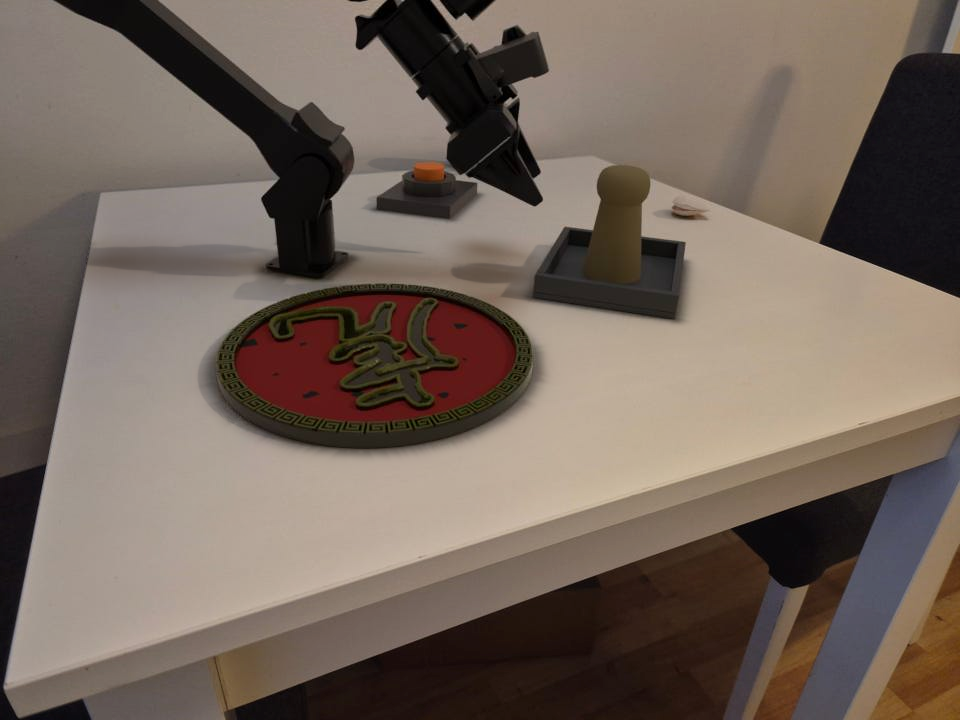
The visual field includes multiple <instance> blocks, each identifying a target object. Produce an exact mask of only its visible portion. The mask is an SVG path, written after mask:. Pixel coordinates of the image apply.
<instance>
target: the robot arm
mask: <svg viewBox="0 0 960 720" xmlns="http://www.w3.org/2000/svg"><path fill="white" fill-rule="evenodd" d="M52 1H53V2H55V3H57V4H59V5H60V6H62V7H63V8H65V9H66V10H69V11H70V12H72V13H73V14H76V15H78V16H81V17H83V18H86V19H88V20H90V21H92V22H95V23H97V24H99V25H102V26H104V27H107V28H109V29H111V30H113V31H115V32H117V33H118V34H120V35H122V36H123V37H124V38H125V39H126V40H128V41H129V42H130V43H131V44H132V45H134V46H135V47H136V48H138V49H139V50H140V51H141V52H143V53H144V54H145V55H146V56H147V57H149V58H150V59H151V60H152V61H154V62H155V63H156V64H158V65H159V66H160V67H161V68H163V70H165V71H166V72H168V73H169V74H170V75H171V76H172V77H174V78H175V79H176V80H177V81H179V82H180V83H181V84H183V85H184V87H186V88H188V89H189V90H190V91H191V92H193V93H194V94H195V95H196V96H197V97H199V98H200V99H201V100H202V101H204V102H205V103H206V104H207V105H209V106H210V107H211V108H212V109H214V110H215V111H216V112H217V113H218V114H220V115H221V116H222V117H224V118H225V119H226V120H227V121H229V122H230V123H231V124H232V125H233V126H235V127H236V128H237V129H239V130H240V131H242V133H244V134H245V135H246V136H247V137H248V138H250V140H251V141H252V142H253V143H254V145H255V147H256V148H257V149H258V152H259V153H260V155H261V156H262V158H263V159H264V161H265V163H266V164H267V166H268V167H269V169H270V171H272V172H273V173H274V174H275V175H276V176H277V178H278V180H277V181H275V183H273V185H272V186H271V187H270V188H269V189H268V190H266V192H264V194H263V195H262V196H261V197H260V202H261V204H262V205H263V208H264V210H265V212H266V214H267V215H268V218H270V219H273V220H274V222H273V223H274V230H275V241H276V250H277V256H276V257H274V258H273V259H272V260H270V261H268V262H267V263H266V264H265V267H266V270H268V271H274V272H281V273H285V274H286V273H287V274H293V275H299V276H304V277H305V276H306V277H312V278H324V277H325V276H327V275H328V274H329V273H331V272H332V271H333V270H335V269H336V268H337V267H338V266H340V265H341V264H343V263H344V262H345V261H346V260H347V259H349V252H348V251H347V252H346V251H339V250H336V235H335V221H334V210H333V200H332V198H333V197H335V195H336V194H337V193H338V192H339V191H340V190H341V188H342V187H343V185H344V184H345V183H346V181H347V180H348V178H350V176H351V174H352V171H353V170H354V167H355V154H354V153H355V152H354V147H353V145H352V144H351V141H349V139H348V138H347V137H346V136H345V135H344V134H342V133H344V132H345V130H346V128H345V126H342V125H339V124H337V123H335V122H334V121H332V120H331V119H329V118H328V117H327V116H326V114H325V113H324V112H323V110H321V109H320V107H318V105H316V103H314V102H312V101H310V102H308V103H307V104H306V105H304V106H303V107H301V108H300V109H299V110H298V109H296V108H294V107H291V106H289V105H287V104H284V103H283V102H281V101H280V100H279V99H278V98H276V97H275V96H274V95H273V94H271V93H270V92H269V91H268V90H267V89H266V88H264V87H263V86H262V85H261V84H259V83H258V81H256V80H254V78H252V77H251V76H249V74H247V72H245V71H244V70H242V69H241V68H240V67H239V66H237V64H235V62H233V61H232V60H231V59H229V57H227V55H224V54H223V52H221V51H220V50H219V49H217V48H216V47H215V46H214V45H213V44H211V43H210V42H209V41H208V40H207V39H205V38H204V37H203V36H202V35H201V34H199V33H198V32H197V31H196V30H194V29H193V28H192V26H190V25H189V24H187V23H186V22H185V21H184V20H182V19H181V18H180V17H179V16H178V15H176V14H175V13H174V12H173V11H172V10H170V9H169V8H168V7H167V6H166V5H164V3H162V2H161V1H159V0H52ZM347 1H348V2H353V3H363V2H367V1H369V0H347ZM496 1H497V0H439V2H440V3H441V4H442V6H443V7H444V9H445V10H446V11H447V12H448V13H449V14H450V16H452V18H453V19H454V20H455V21H457V20H459V19H460V18H462V16H464V15H465V14H466V16H467V17H468V18H469V19H470V20H471V21H473V22H474V21H475V20H476V19H477V18H479V17H480V16H481V15H482V14H483V13H484V12H485V11H486V10H487V9H489V8H490V7H491V5H493V4H494V3H495V2H496ZM354 22H355V27H356V38H355V45H354V46H355V48H356V49H357V50H358V51H362V50H364V49H366V48H367V47H368V46H370V45H371V44H372V43H373V42H374V41H375V40H376V39H378V40H379V42H381V44H382V45H383V46H384V47H385V49H386V50H387V51H388V53H390V55H391V56H392V58H393V59H394V60H395V61H396V62H397V63H398V65H399V66H400V67H401V68H402V69H403V71H404V72H405V73H406V74H407V76H408V77H409V78H410V79H411V80H412V82H413V83H414V84H415V85H416V87H417V89H416V90H415V94H416V95H418V97H419V98H420V99H421V100H422V101H425V100H426V99H427V100H428V101H429V102H430V104H431V105H432V107H434V109H435V110H436V111H437V113H438V114H439V116H441V118H442V119H443V120H444V121H445V122H446V125H445V128H444V129H445V130H446V131H447V132H448V133H449V135H450V136H449V138H448V141H447V143H446V157H445V158H446V159H445V160H446V161H447V162H448V163H449V164H450V166H451V167H452V168H453V169H454V170H455V171H456V172H457V174H458V175H459V176H463V175H465V176H466V177H467V178H469V179H471V178H472V179H475V180H477V181H479V182H482V183H484V184H485V185H488V186H491V187H493V188H495V189H497V190H498V191H501V192H503V193H506V194H508V195H509V196H512V197H513V198H516V199H518V200H520V201H522V202H524V203H525V204H528V205H530V206H532V207H537V206H539V205H540V204H541V203H542V202H543V201H544V197H543V195H542V192H541V191H540V189H539V187H538V185H537V183H536V182H535V180H534V179H536V178H537V177H538V176H539V175H541V172H542V170H541V167H540V166H539V164H538V161H537V159H536V157H535V155H534V153H533V151H532V148H531V147H530V145H529V143H528V141H527V138H526V136H525V134H524V132H523V129H522V127H521V125H520V123H519V116H520V108H521V99H520V97H518V93H519V92H518V89H516V87H515V86H514V84H515V83H519V82H521V81H523V80H526V79H530V78H533V79H536V78H539V77H541V76H544V75H546V74H547V73H549V72H550V68H549V63H548V61H547V60H548V59H547V57H546V54H545V50H544V46H543V43H542V39H541V36H540V32H539V31H531V32H530V33H528V34H527V32H525V31H524V30H523V28H521V26H519V24H516V25H513V26H511V27H508V28H505V29H503V31H502V37H501V44H499V45H493V47H492V48H490V49H487V50H484V51H482V52H480V51H479V49H478V48H477V47H476V46H475V44H474V43H472V42H470V43H469V42H468V41H466V42H465V41H463V40H462V37H460V36H459V35H458V32H456V30H455V29H454V28H453V26H452V25H451V24H450V23H449V21H448V20H447V19H446V17H445V16H444V15H443V13H442V12H441V11H440V10H439V8H438V7H437V6H436V4H435V3H434V1H433V0H385V1H384V2H382V4H381V5H380V6H379V7H378V8H377V9H376V10H374V12H372V13H371V15H365V14H358V15H356V16H355V17H354ZM510 98H511V100H513V101H512V102H511V103H509V104H507V105H506V103H505V102H506V101H507V102H508V100H509V99H510Z"/></svg>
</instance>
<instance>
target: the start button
mask: <svg viewBox="0 0 960 720" xmlns="http://www.w3.org/2000/svg"><path fill="white" fill-rule="evenodd" d="M413 171H414V179H417V180H423V181H438V180H443V179H444V171H445V165H444V164H443V163H439V162H432V161H422V162H417V163H415V164H414V165H413Z"/></svg>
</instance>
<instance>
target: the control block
mask: <svg viewBox="0 0 960 720" xmlns="http://www.w3.org/2000/svg"><path fill="white" fill-rule="evenodd" d="M477 195H478V182H474V181H465V180H459V179H457V178H456V176H455V174H454V173H453V172H449V171H446V170H444V179H443V180H438V181H423V180H417V179H414V170H410V171H407V172H404V173H403V174H402V175H401V181H398V182H397V183H396V184H394V185H393V186H391V187H390V188H388V189H387V190H386V191H384V192H382V193H381V194H380V195H378V196H376V210H377V211H378V210H379V211H385V212H394V213H399V214H409V215H416V216H417V215H418V216H424V217H431V218H439V219H446V220H450V219H452V218H453V217H454V216H455V215H456V214H457V213H459V212H460V211H461V209H463V208H464V207H465V206H466V205H467V204H468V203H469V202H470V201H471V200H473V198H475V197H476V196H477Z"/></svg>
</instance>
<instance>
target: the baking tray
mask: <svg viewBox="0 0 960 720" xmlns="http://www.w3.org/2000/svg"><path fill="white" fill-rule="evenodd" d="M592 232H593V229H586V228H581V227H571V226H564V227H563V228H562V230H561V232H560V233H559V235H558V236H557V238H556V240H555V242H554V243H553V245H552V246H551V247H550V249H549V251H548V253H547V254H546V256H545V258H544V259H543V261H542V263H541V264H540V266H539V268H538V269H537V271H536V273H535V274H534V282H533V293H532V297H533V298H535V299H540V300H548V301H554V302H561V303H566V304H567V303H568V304H572V305H573V304H574V305H579V306H586V307H595V308H599V309H607V310H613V311H620V312H626V313H633V314H638V315H639V314H641V315H645V316H653V317H660V318H667V319H672V320H675V319H676V315H677V310H678V304H679V299H680V292H681V284H682V277H683V268H684V262H685V261H684V260H685V254H686V253H685V252H686V244H687V242H686V241H680V240H674V239H666V238H657V237H650V236H649V237H648V236H643V235H641V277H640V279H639V280H638V281H636V282H633V283H629V284H615V283H608V282H601V281H595V280H593V279H590V278H588V277H587V276H586V275H584V273H583V268H584V264H585V260H586V256H587V252H588V248H589V244H590V240H591V236H592Z"/></svg>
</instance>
